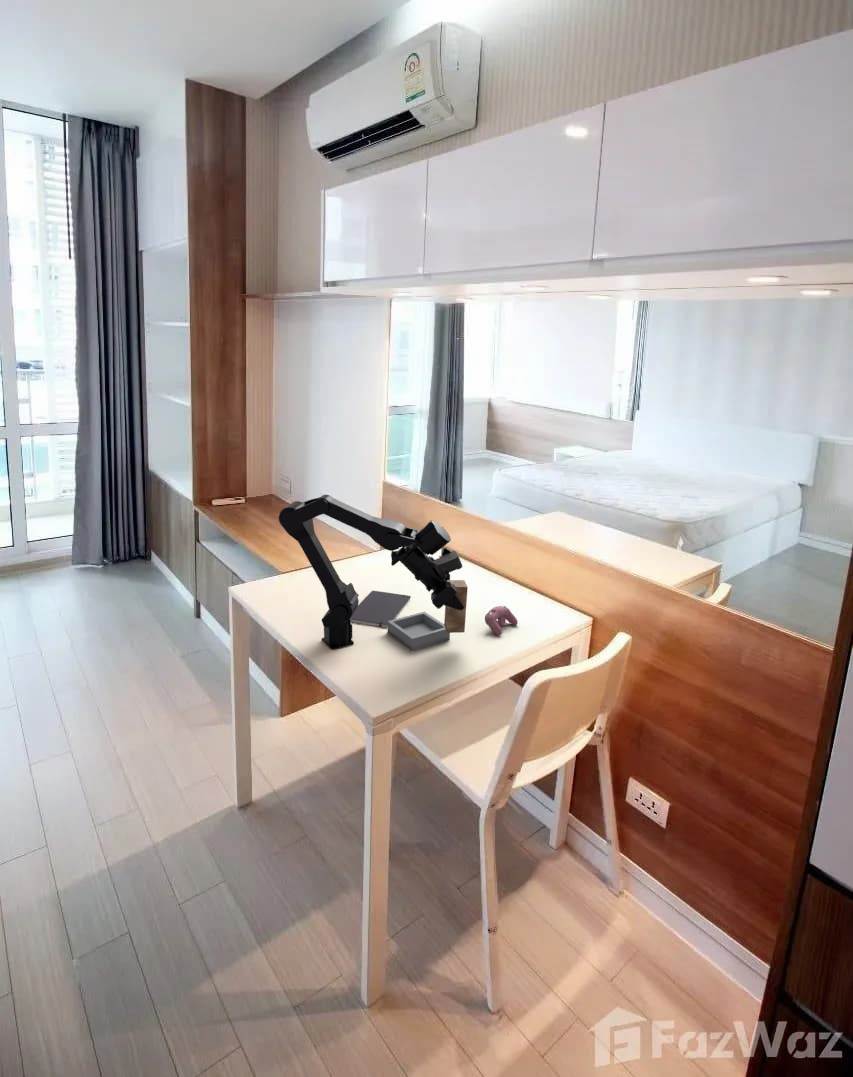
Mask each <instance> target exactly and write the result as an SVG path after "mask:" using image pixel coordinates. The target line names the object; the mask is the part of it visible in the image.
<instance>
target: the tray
mask: <svg viewBox="0 0 853 1077" xmlns="http://www.w3.org/2000/svg"><path fill="white" fill-rule="evenodd" d="M387 634H388V635H389V636H391V637H392V638H394V639H395V640H396V641H397V642H399V643H400V644H402V645H403V646H404V647H406V648H407V649H408V650H410V651H411V652H413V651H416V650H419V649H420V650H421V649H423V648H427V647H430V646H434V645H437V644H441V643H444V642H447V641H450V640H451V639H450V638H451V637H450V636H451V633H447V631H446V629H445V626H444V623H443V622H441V621H440V620H438V619H437V618H436V617H434V616H432V615H431V614H429V613H428V612H425V611H421V612H418V613H415V614H414V613H413V614H411V615H405V616H403V617H399V618H398V617H397V618H396V619H394V620H390V621H388V627H387Z"/></svg>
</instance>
